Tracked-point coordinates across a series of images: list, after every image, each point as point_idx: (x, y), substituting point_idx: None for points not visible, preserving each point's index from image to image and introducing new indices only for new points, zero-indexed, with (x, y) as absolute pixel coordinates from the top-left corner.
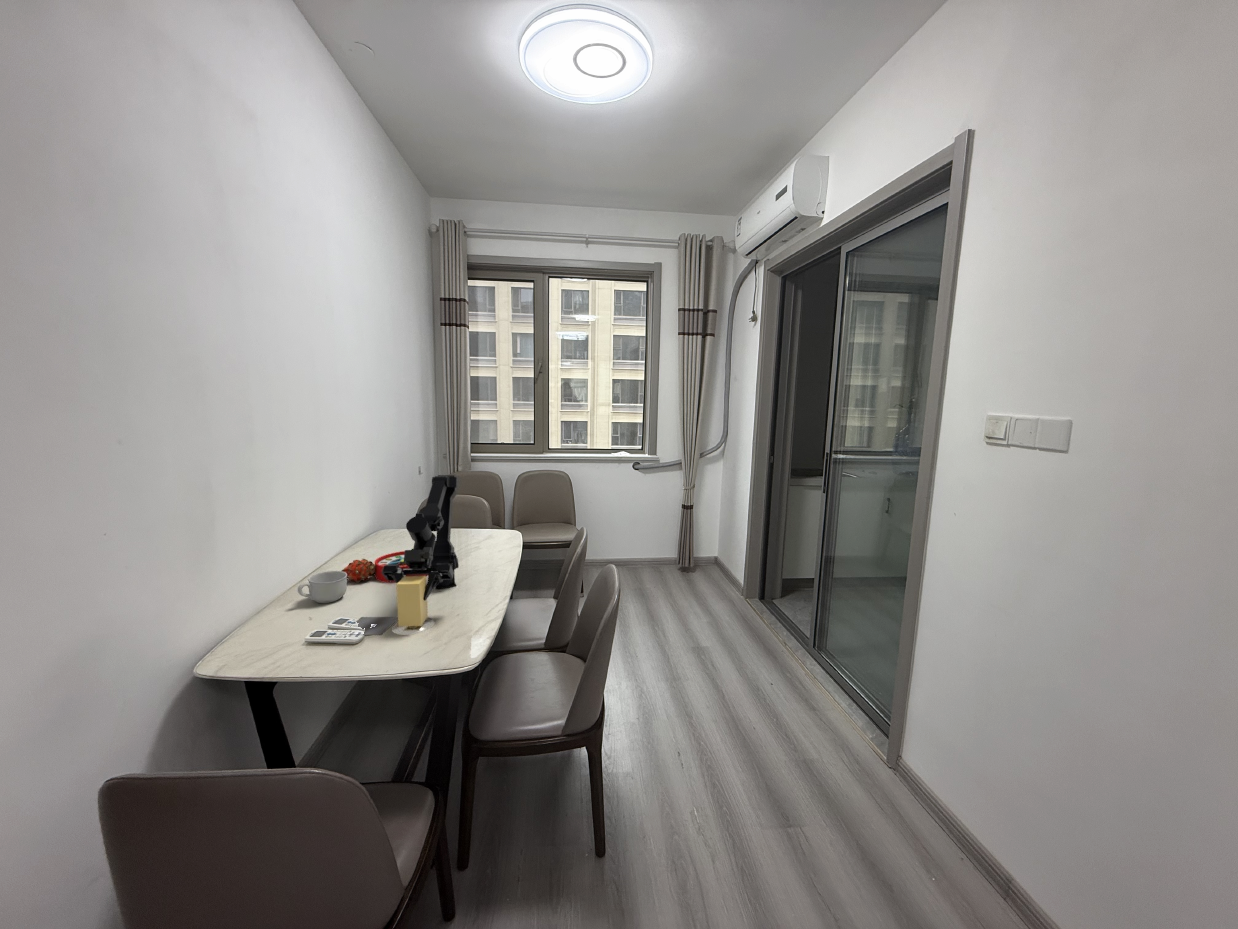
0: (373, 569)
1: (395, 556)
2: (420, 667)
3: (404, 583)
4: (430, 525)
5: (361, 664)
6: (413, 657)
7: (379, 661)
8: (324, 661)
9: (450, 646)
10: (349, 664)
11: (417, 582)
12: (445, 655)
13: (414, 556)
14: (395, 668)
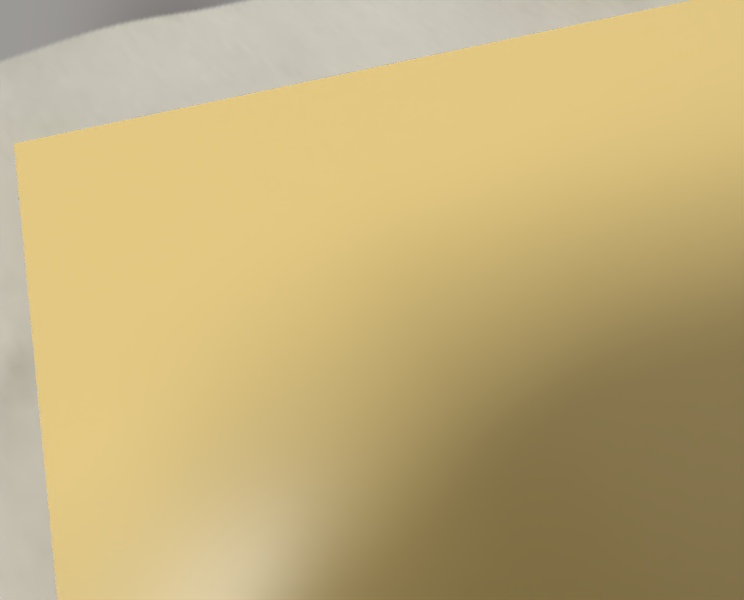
0: None
1: None
2: (101, 33)
3: (579, 75)
4: None
5: (411, 15)
6: (187, 104)
7: (343, 48)
8: (604, 12)
9: (18, 245)
10: (467, 8)
11: (150, 242)
12: (11, 149)
13: None
14: (223, 10)
